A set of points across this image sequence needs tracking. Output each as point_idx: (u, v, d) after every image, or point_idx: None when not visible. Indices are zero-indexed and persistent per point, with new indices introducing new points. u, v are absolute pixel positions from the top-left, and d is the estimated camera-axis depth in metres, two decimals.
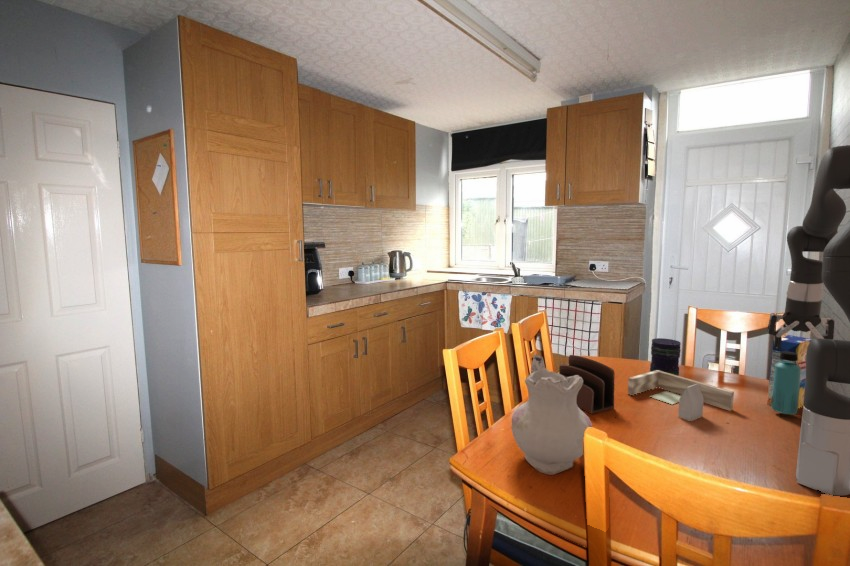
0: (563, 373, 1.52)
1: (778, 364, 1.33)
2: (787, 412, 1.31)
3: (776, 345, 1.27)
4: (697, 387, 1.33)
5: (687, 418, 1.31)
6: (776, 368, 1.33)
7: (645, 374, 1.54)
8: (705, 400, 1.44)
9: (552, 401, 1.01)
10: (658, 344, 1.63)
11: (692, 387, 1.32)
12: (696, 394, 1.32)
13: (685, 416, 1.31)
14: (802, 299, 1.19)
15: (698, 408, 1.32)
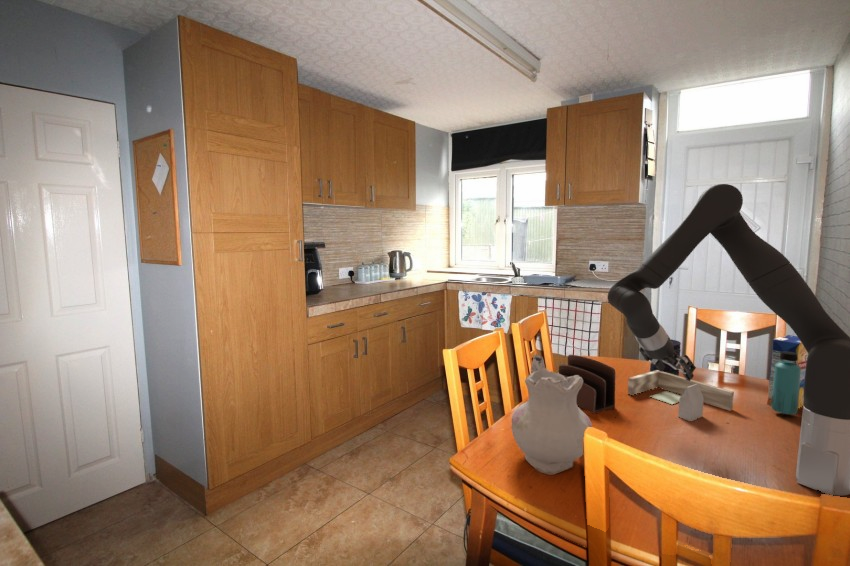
0: (563, 373, 1.52)
1: (778, 364, 1.33)
2: (787, 412, 1.31)
3: None
4: (697, 387, 1.33)
5: (687, 418, 1.31)
6: (776, 368, 1.33)
7: (645, 374, 1.54)
8: (705, 400, 1.44)
9: (552, 401, 1.01)
10: None
11: (692, 387, 1.32)
12: (696, 394, 1.32)
13: (685, 416, 1.31)
14: None
15: (698, 408, 1.32)
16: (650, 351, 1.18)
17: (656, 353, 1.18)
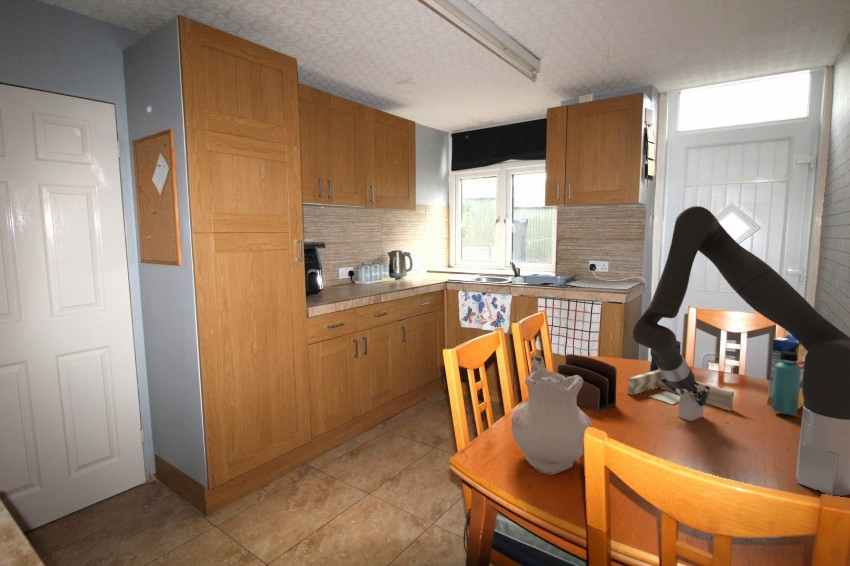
0: (562, 373, 1.53)
1: (778, 364, 1.33)
2: (787, 412, 1.31)
3: None
4: None
5: (687, 418, 1.31)
6: (776, 368, 1.33)
7: (645, 374, 1.54)
8: None
9: (552, 401, 1.01)
10: None
11: None
12: None
13: (686, 416, 1.31)
14: None
15: (698, 408, 1.32)
16: (674, 381, 1.25)
17: (679, 383, 1.24)
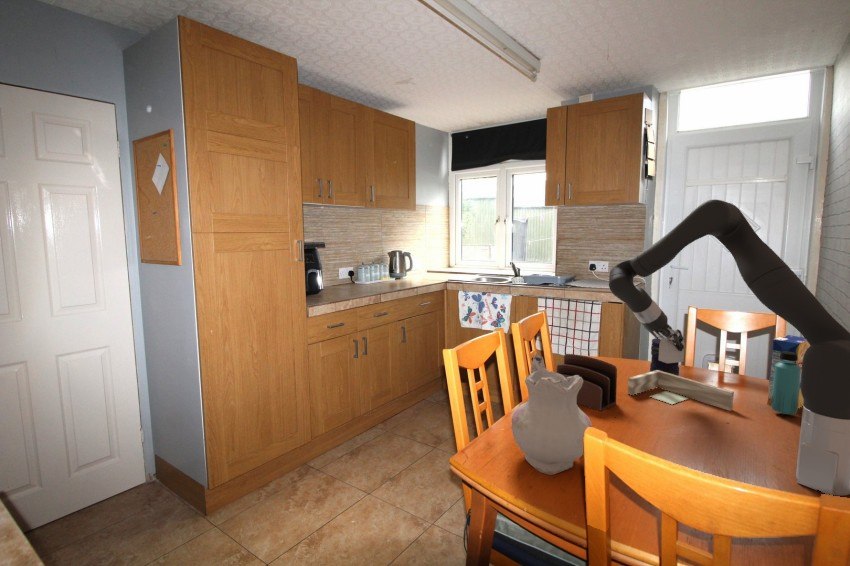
0: (561, 373, 1.53)
1: (778, 364, 1.33)
2: (787, 412, 1.31)
3: None
4: None
5: (664, 360, 1.45)
6: (776, 368, 1.33)
7: (645, 374, 1.54)
8: (705, 400, 1.44)
9: (552, 401, 1.01)
10: (658, 344, 1.63)
11: None
12: None
13: (663, 359, 1.45)
14: None
15: (678, 352, 1.44)
16: (645, 323, 1.40)
17: (651, 325, 1.40)
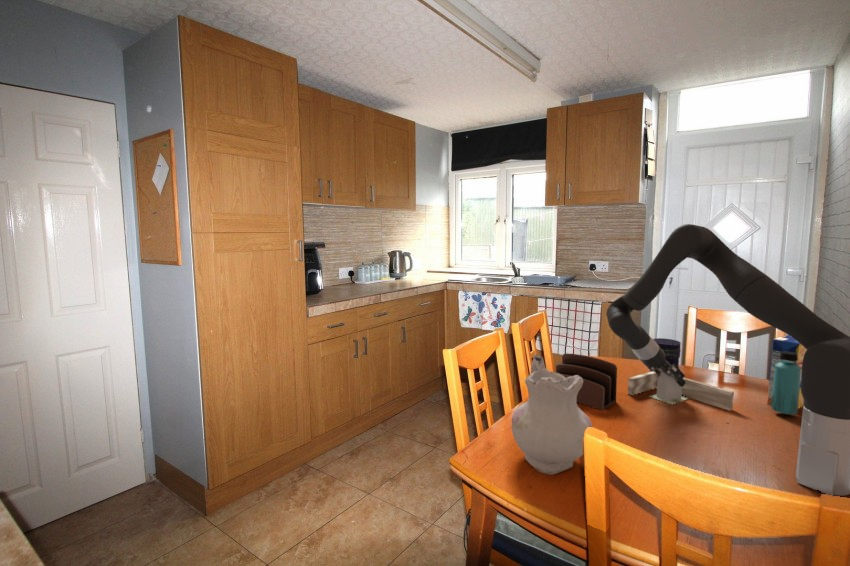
0: (561, 372, 1.53)
1: (778, 364, 1.33)
2: (787, 412, 1.31)
3: None
4: None
5: (662, 397, 1.46)
6: (776, 368, 1.33)
7: (645, 374, 1.54)
8: (705, 400, 1.44)
9: (552, 401, 1.01)
10: (658, 344, 1.63)
11: None
12: None
13: (661, 396, 1.46)
14: None
15: (675, 390, 1.46)
16: (644, 360, 1.42)
17: (649, 362, 1.41)
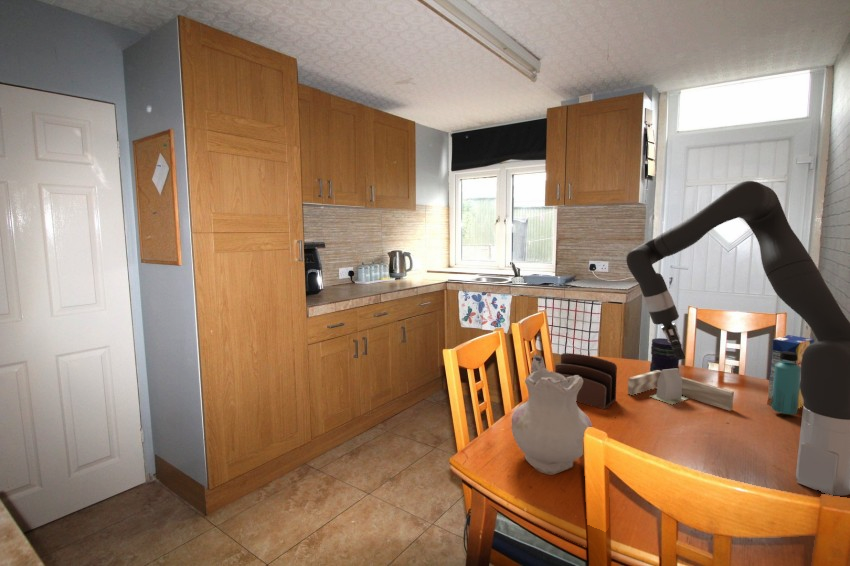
0: (560, 372, 1.53)
1: (778, 364, 1.33)
2: (787, 412, 1.31)
3: (683, 355, 1.30)
4: (676, 371, 1.47)
5: (662, 397, 1.46)
6: (776, 368, 1.33)
7: (645, 374, 1.54)
8: (705, 400, 1.44)
9: (552, 401, 1.01)
10: (658, 344, 1.63)
11: (670, 370, 1.46)
12: (674, 377, 1.46)
13: (661, 396, 1.46)
14: (673, 303, 1.32)
15: (675, 390, 1.46)
16: (649, 312, 1.35)
17: (653, 316, 1.34)
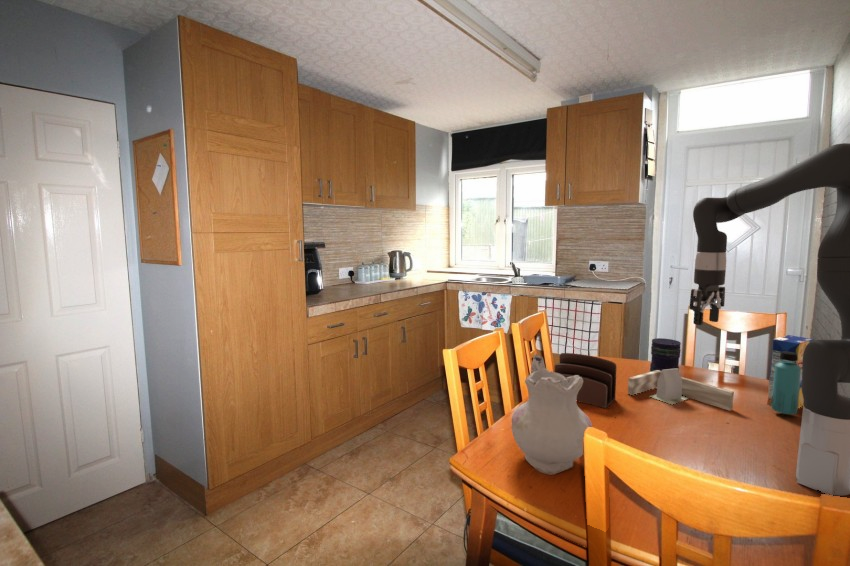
0: (560, 372, 1.53)
1: (778, 364, 1.33)
2: (787, 412, 1.31)
3: (699, 321, 1.23)
4: (676, 371, 1.47)
5: (662, 397, 1.46)
6: (776, 368, 1.33)
7: (645, 374, 1.54)
8: (705, 400, 1.44)
9: (552, 401, 1.01)
10: (658, 344, 1.63)
11: (670, 370, 1.46)
12: (674, 377, 1.46)
13: (661, 396, 1.46)
14: (722, 268, 1.21)
15: (675, 390, 1.46)
16: None
17: (694, 273, 1.26)
